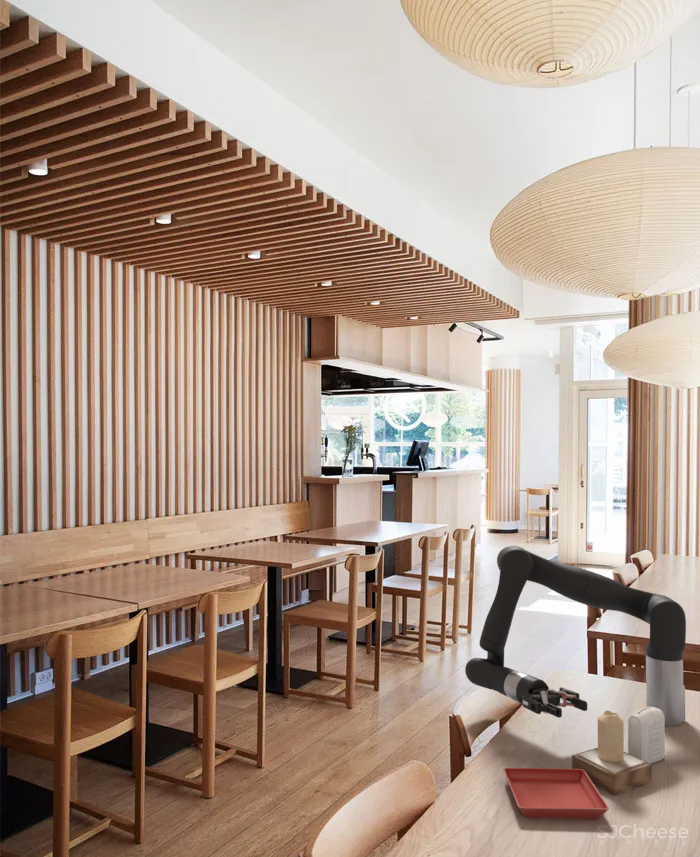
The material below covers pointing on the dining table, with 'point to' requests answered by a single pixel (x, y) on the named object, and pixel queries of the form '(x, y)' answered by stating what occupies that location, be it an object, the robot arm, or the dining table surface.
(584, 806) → the plant saucer
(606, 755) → the candle
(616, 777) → the stand
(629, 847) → the dining table surface
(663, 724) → the photo printer
